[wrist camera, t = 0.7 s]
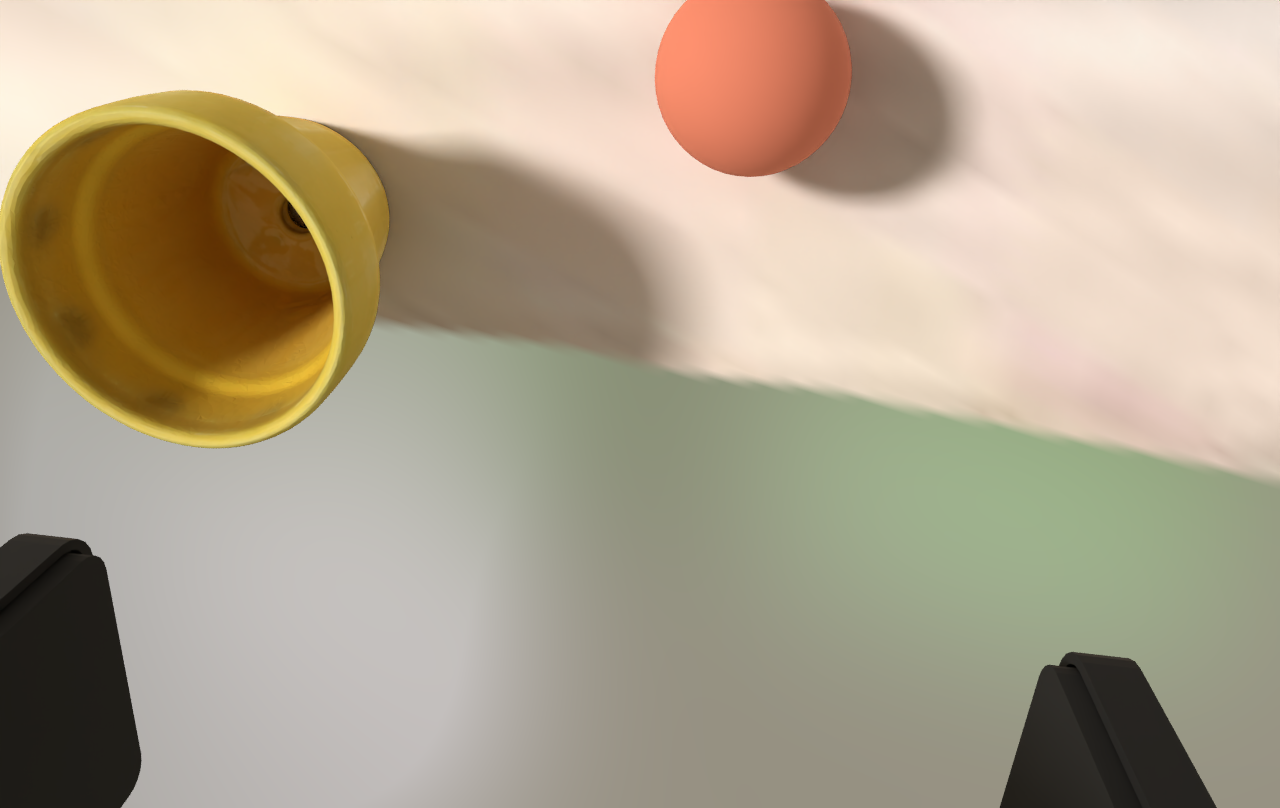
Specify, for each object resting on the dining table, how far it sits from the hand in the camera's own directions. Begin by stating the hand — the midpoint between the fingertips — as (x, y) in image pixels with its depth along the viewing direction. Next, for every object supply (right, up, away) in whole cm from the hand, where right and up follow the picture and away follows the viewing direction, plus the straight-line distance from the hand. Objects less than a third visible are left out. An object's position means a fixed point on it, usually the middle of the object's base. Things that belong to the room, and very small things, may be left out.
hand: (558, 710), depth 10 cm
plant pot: (-12, +10, +27) cm, 32 cm away
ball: (+4, +13, +21) cm, 25 cm away
